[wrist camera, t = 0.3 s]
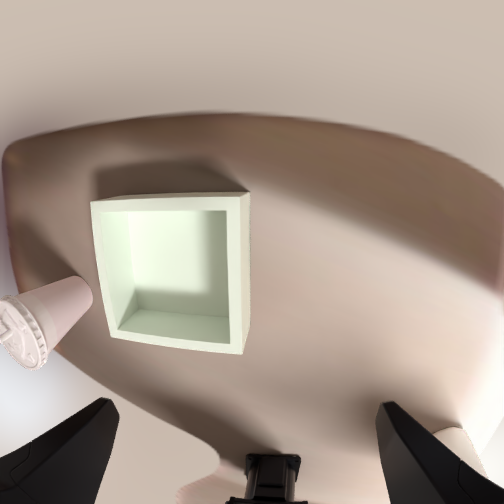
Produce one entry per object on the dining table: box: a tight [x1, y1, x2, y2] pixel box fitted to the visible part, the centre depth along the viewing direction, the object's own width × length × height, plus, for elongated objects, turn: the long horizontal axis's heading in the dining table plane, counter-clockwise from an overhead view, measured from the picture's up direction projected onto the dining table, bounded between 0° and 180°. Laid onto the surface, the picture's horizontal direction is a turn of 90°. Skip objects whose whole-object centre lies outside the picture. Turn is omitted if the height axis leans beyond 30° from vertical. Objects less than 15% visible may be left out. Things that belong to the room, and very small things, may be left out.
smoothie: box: [0, 276, 93, 371], centre depth 19 cm, size 6×6×14 cm
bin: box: [90, 192, 250, 354], centre depth 21 cm, size 11×11×4 cm
